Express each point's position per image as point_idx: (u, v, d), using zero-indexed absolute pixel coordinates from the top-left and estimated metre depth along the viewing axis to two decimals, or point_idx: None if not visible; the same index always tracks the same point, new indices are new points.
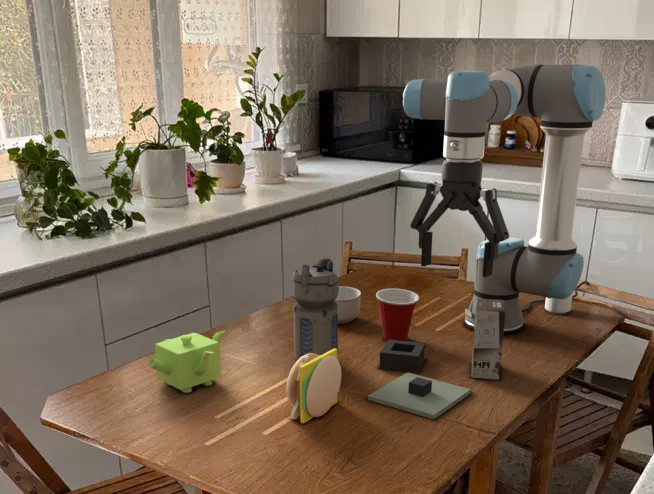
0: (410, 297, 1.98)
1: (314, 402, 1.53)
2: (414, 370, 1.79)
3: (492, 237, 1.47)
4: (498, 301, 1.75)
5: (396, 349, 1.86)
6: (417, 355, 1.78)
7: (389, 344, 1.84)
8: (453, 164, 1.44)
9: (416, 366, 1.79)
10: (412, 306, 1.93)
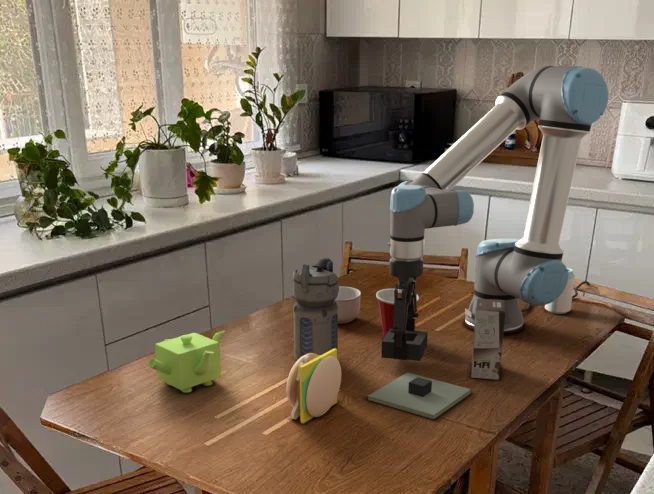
0: None
1: (314, 402, 1.53)
2: (416, 359, 1.78)
3: None
4: (498, 301, 1.75)
5: None
6: (419, 344, 1.77)
7: (391, 333, 1.84)
8: (390, 258, 1.75)
9: (418, 355, 1.78)
10: None
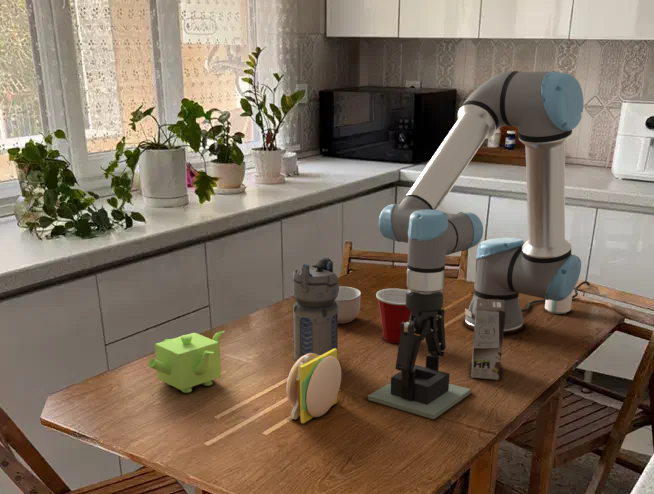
0: None
1: (314, 402, 1.53)
2: (424, 402, 1.61)
3: None
4: (498, 301, 1.75)
5: (417, 376, 1.68)
6: (428, 385, 1.60)
7: None
8: None
9: (426, 397, 1.60)
10: None
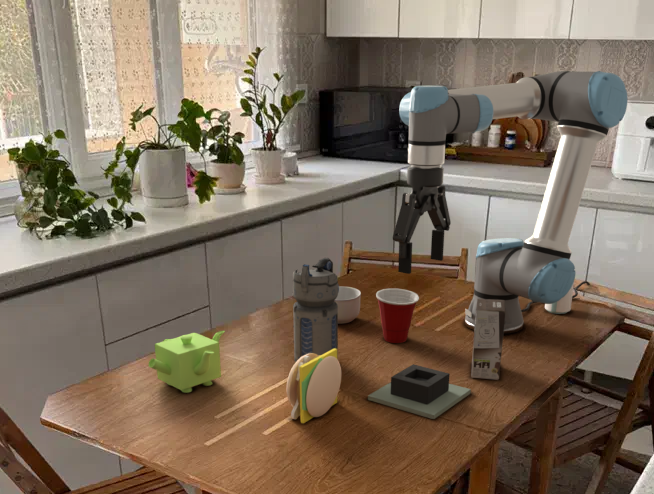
0: (410, 297, 1.98)
1: (314, 402, 1.53)
2: (424, 402, 1.61)
3: None
4: (498, 301, 1.75)
5: (417, 376, 1.68)
6: (428, 385, 1.60)
7: (409, 369, 1.67)
8: None
9: (426, 397, 1.60)
10: (412, 306, 1.93)
